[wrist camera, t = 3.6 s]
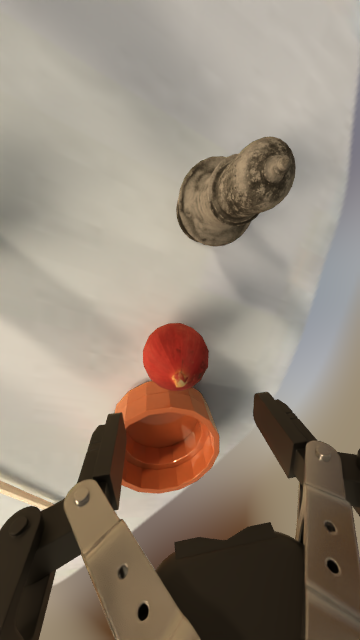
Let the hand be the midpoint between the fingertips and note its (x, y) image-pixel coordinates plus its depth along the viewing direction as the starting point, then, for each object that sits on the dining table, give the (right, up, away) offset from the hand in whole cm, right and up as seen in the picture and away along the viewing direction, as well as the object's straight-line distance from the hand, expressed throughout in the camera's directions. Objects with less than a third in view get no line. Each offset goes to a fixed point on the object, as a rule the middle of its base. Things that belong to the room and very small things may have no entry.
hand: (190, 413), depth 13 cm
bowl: (-3, -6, +13) cm, 15 cm away
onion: (-2, +4, +10) cm, 11 cm away
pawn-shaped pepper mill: (+2, +15, +6) cm, 17 cm away
